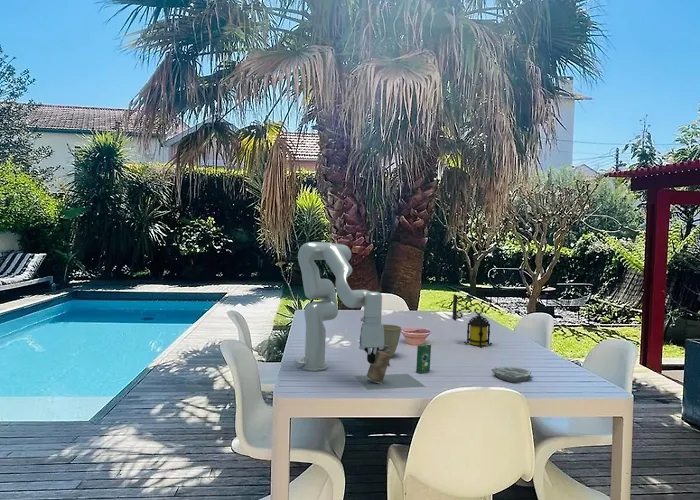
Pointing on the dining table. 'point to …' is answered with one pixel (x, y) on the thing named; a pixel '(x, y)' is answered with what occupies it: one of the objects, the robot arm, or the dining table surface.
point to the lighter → (386, 351)
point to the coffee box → (423, 358)
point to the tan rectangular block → (378, 367)
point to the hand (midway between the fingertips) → (370, 362)
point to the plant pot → (391, 337)
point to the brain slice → (512, 374)
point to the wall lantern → (473, 324)
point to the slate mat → (390, 382)
